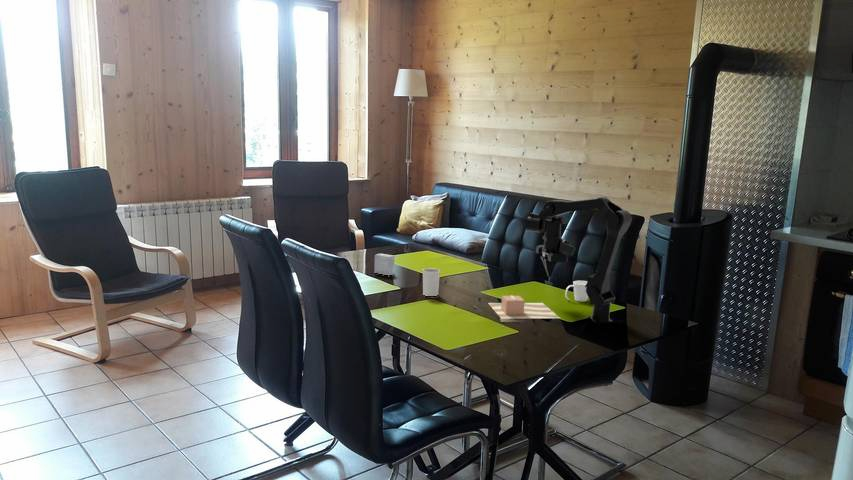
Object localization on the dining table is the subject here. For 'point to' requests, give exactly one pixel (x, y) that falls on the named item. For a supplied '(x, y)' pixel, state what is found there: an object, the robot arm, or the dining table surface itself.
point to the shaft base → (529, 312)
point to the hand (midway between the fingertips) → (549, 276)
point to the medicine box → (384, 264)
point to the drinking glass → (431, 281)
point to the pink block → (512, 305)
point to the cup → (578, 291)
